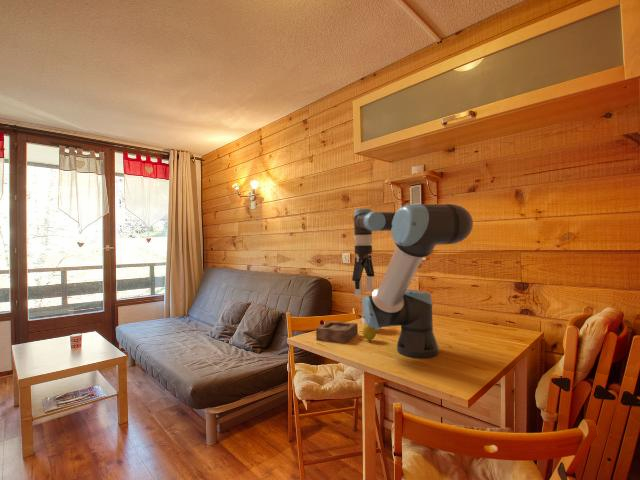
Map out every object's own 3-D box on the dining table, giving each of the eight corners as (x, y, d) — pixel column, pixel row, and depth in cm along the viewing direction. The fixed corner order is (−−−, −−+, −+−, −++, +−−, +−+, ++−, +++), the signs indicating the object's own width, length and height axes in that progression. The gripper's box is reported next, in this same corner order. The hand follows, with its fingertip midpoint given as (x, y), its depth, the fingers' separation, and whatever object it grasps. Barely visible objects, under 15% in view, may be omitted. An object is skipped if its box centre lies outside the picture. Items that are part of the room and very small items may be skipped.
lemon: (360, 341, 140) (359, 322, 140) (369, 338, 143) (368, 320, 143) (370, 343, 135) (369, 324, 135) (378, 341, 139) (378, 322, 139)
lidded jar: (384, 333, 150) (384, 313, 150) (361, 333, 152) (360, 313, 152) (383, 327, 161) (383, 308, 161) (362, 327, 162) (361, 308, 162)
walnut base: (357, 334, 149) (357, 323, 149) (346, 343, 137) (345, 331, 137) (330, 331, 155) (329, 320, 155) (316, 339, 143) (316, 328, 143)
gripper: (365, 243, 154) (365, 288, 154) (343, 246, 132) (344, 298, 132) (380, 243, 150) (381, 289, 151) (361, 246, 128) (361, 299, 129)
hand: (364, 293), depth 141 cm, fingers open, 13 cm apart
